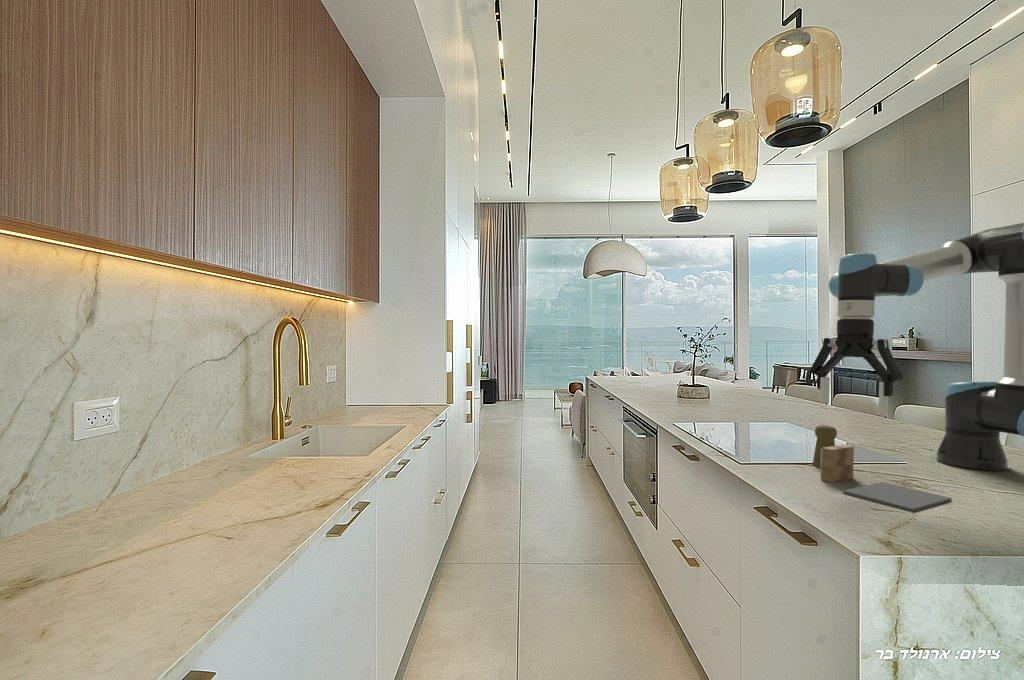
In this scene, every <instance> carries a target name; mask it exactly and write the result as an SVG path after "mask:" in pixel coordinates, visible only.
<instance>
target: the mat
mask: <svg viewBox="0 0 1024 680" xmlns="http://www.w3.org/2000/svg"><path fill="white" fill-rule="evenodd" d="M842 494H845V495H849V496H853V497H856V498H858V499H859V498H860V499H863V500H867V501H871V502H875V503H878V504H883V505H887V506H889V505H890V507H893V508H897V509H901V510H904V509H905V511H908V510H909V512H912V511H914V512H917V511H920V509H921V510H924V509H928V508H932V507H935V506H938V505H941V504H940V503H942V504H945V503H944V502H946V503H949V502H952V498H951V497H948V496H944V495H941V494H936V493H931V492H927V491H923V490H918V489H914V488H909V487H905V486H901V485H896V484H892V483H888V482H885V481H881V482H875V483H872V484H867V485H863V486H858V487H854V488H847V489H846V490H845V489H844V490H843V491H842ZM948 501H949V502H948ZM937 504H938V505H937ZM934 505H935V506H934ZM927 507H928V508H927Z"/></svg>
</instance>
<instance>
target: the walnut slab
mask: <svg viewBox="0 0 1024 680" xmlns="http://www.w3.org/2000/svg"><path fill="white" fill-rule="evenodd" d="M854 451H855V447H854V445H848V444H837V445H835V446H830V447H824V448H822V449H821V468H820V476H819V477H820V481H824V482H828V483H836V482H842V481H846V479H847V480H851V478H852V479H853V478H854V458H855V457H854V453H855V452H854ZM841 480H842V481H841Z"/></svg>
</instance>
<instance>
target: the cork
mask: <svg viewBox="0 0 1024 680" xmlns="http://www.w3.org/2000/svg"><path fill="white" fill-rule="evenodd" d="M814 435H815V436H816V442H815V447H814V454H813V457H812V458H813V459H812V464H811V465H812V466H813V467H816V468H818V469H821V449H822V448H824V447H830V446H836V443H835V442H836V441H835V439H836V438H837V435H838V431H837V428H835V427H834V426H831V425H826V424H825V425H823V424H822V425H821V424H820V425H818V426H816V427H815V428H814Z"/></svg>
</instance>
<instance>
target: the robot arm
mask: <svg viewBox="0 0 1024 680" xmlns="http://www.w3.org/2000/svg"><path fill="white" fill-rule="evenodd" d="M993 272H994V273H996V272H997V273H998V275H997V276H998V278H999V279H1000V280H1001V281H1003V282H1004V283H1005V313H1004V315H1005V317H1004V321H1005V323H1004V350H1003V351H1004V355H1003V357H1004V358H1003V359H1004V360H1003V376H1001V378H999V379H998V380H996V381H966V382H965V381H963V382H962V381H961V382H959V381H958V382H951V383H948V385H947V387H946V395H945V396H944V397H945V398H944V399H945V414H944V415H945V416H944V419H945V423H944V425H945V426H944V427H945V429H944V431H945V432H944V435H943V438H942V439H941V442H940V444H939V447H938V449H937V452H936V461H937V462H940V463H942V464H945V465H949V466H954V467H958V468H963V469H969V470H970V469H972V470H978V471H979V470H980V471H981V470H982V471H1005V470H1008V459H1007V456H1006V453H1005V450H1004V447H1003V445H1002V443H1001V440H1000V437H1001V436H1000V435H1001V434H1000V433H1003V434H1004V433H1005V434H1010V435H1017V436H1020V437H1024V222H1021V223H1017V224H1016V223H1015V224H1011V225H1006V226H1000V227H994V228H988V229H985V230H982V231H979V232H976V233H973V234H970V235H967V236H964V237H961V238H957V239H954V240H951V241H947V242H945V243H944V244H943V245H941V247H938V248H935V249H930V250H926V251H922V252H919V253H914V254H911V255H907V256H903V257H898V258H895V259H890V260H885V261H882V262H878V261H877V256H876V255H875V254H873V253H865V252H863V253H862V252H861V253H860V252H859V253H857V252H856V253H849V254H845V255H843V256H841V257H840V259H839V265H838V272H836V273H834V274H833V275H832V276H831V277H830V279H829V281H828V289H829V291H830V293H831V295H832V296H834V297H835V298H837V317H838V318H839V319H838V320H836V321H837V322H836V335H837V337H836V339H834V338H833V337H824V338H823V341H822V347H821V349H820V350H819V352H818V355H817V356H816V358H815V360H814V361H813V363H812V365H811V367H810V369H809V373H810V374H813V375H815V376H816V377H817V380H816V381H817V382H816V387H817V390H819V404H828V403H830V382H831V380H830V376H828V375H829V373H830V372H831V371H832V370H833V369H834V368H835V367H836V366H837V365H838V364H839V363H840V362H841V360H843V359H844V358H862V359H864V360H865V361H866V362H867V363H868V364H869V365H870V367H871V368H872V369H873V371H874V372H875V373H876V374H877V375H878V376H879V377H880V379H881V380H882V381H879V382H878V384H879V385H878V404H877V405H878V406H877V407H878V408H877V411H881V412H884V411H888V410H889V398H890V397H892V396H893V392H894V383H895V382H897V381H903V379H904V375H903V374H902V372H901V370H900V368H899V365H898V364H897V362H896V360H895V358H894V356H893V354H892V352H891V350H890V346H889V340H888V339H886V338H885V339H884V338H879V339H876V340H875V339H874V332H875V331H874V330H875V327H874V326H875V321H874V320H873V319H872V318H873V317H875V300H876V299H875V298H877V297H889V296H894V297H895V296H898V297H904V296H906V297H907V296H909V297H910V296H913V295H915V294H917V293H918V292H919V291H920V290H922V287H923V286H924V281H927V280H930V279H934V278H935V279H936V278H939V277H943V276H947V275H950V276H955V277H956V276H962V275H966V274H973V273H974V274H975V273H993ZM835 346H836V347H837V350H835V352H833V355H832V356H831V357H830V358H829V356H830V354H831V352H832V350H833V348H834V347H835ZM874 346H875V348H876V349H877V350H878V353H879V355H880V357H881V359H882V360H883V363H884V365H883V364H882V362H881V361H880V360H879V359H878V358H877V356H876V354H875V352H874V351H872V349H873V347H874ZM828 358H829V360H827V359H828Z"/></svg>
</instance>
